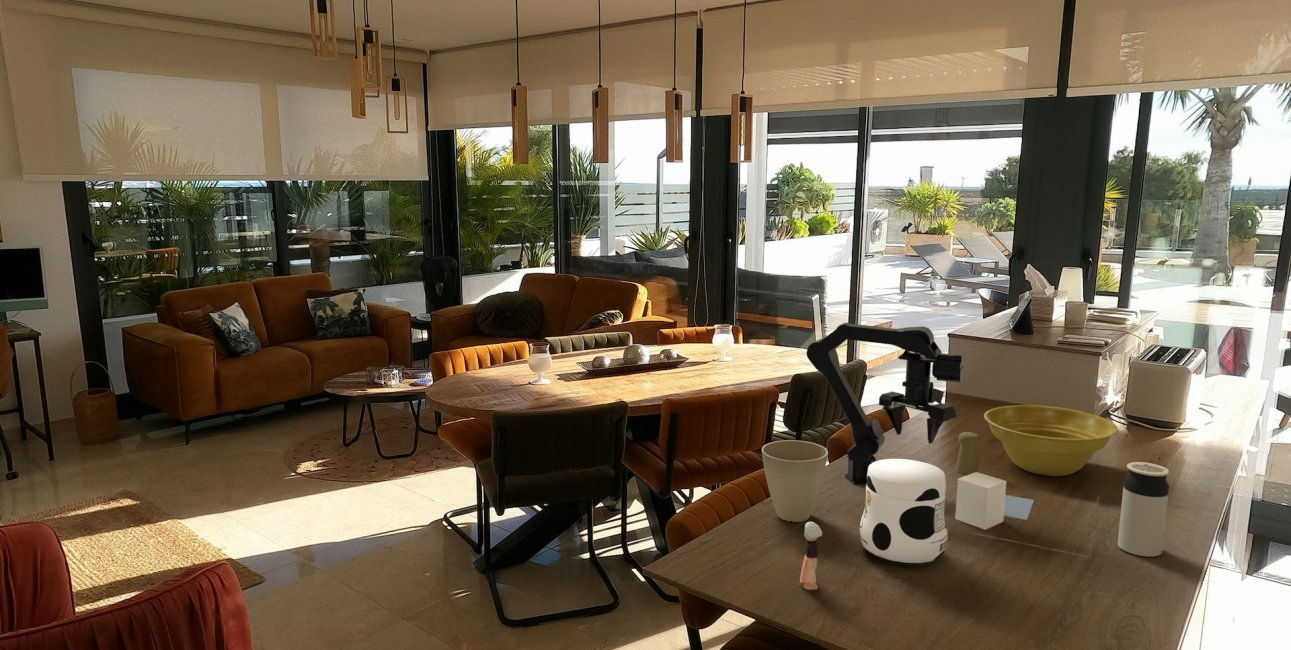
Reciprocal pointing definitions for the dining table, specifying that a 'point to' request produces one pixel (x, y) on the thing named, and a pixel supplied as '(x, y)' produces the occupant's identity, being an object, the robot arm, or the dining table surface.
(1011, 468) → the dining table surface
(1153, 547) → the travel mug
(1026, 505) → the mat
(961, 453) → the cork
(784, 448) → the plant pot
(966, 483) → the white rectangular block
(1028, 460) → the planter bowl
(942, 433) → the dining table surface
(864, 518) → the milk container
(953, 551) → the dining table surface
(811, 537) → the grandmother figurine
